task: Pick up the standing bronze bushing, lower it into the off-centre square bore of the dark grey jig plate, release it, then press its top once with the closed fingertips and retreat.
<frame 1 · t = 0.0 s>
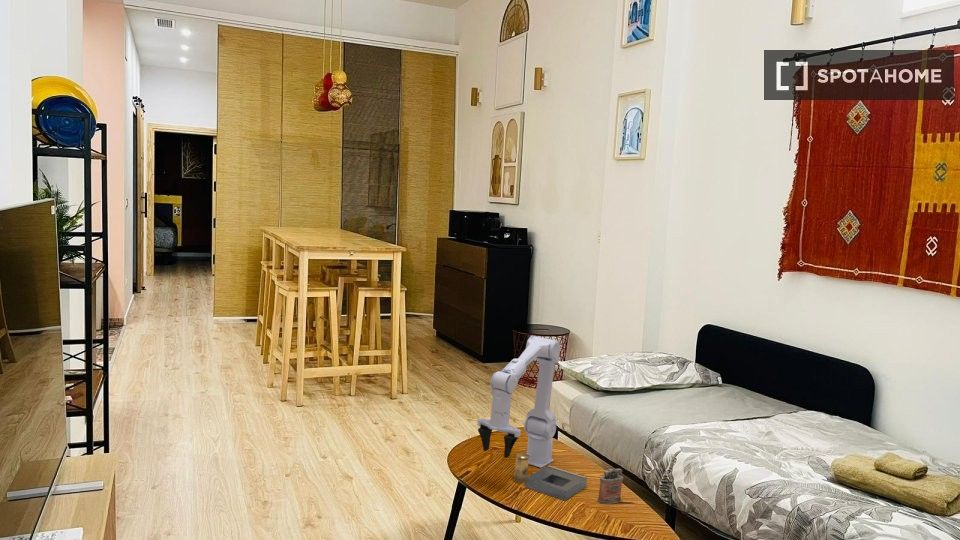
hand: (496, 453, 227), 10 cm above the table, fingers open, 7 cm apart
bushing: (520, 479, 234), on the table
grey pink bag: (608, 501, 224), on the table
jig: (555, 486, 231), on the table
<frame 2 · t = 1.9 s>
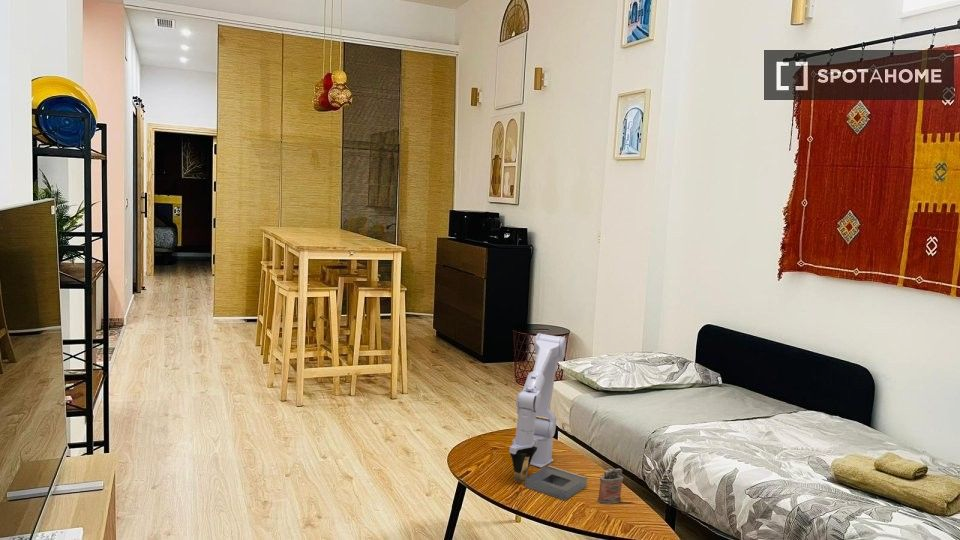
hand: (521, 470, 234), 3 cm above the table, fingers closed on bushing, 4 cm apart
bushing: (520, 479, 234), on the table, touching gripper
everything else where it was.
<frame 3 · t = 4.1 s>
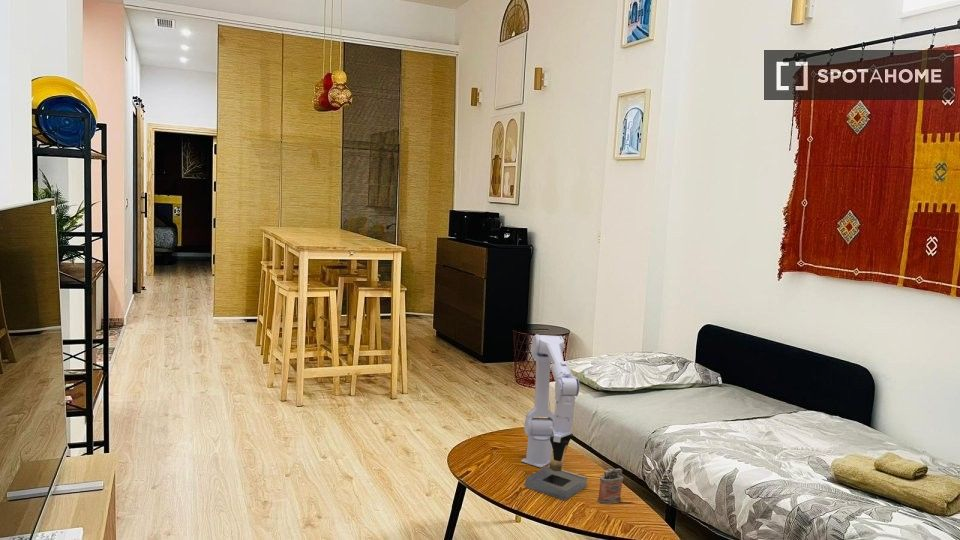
hand: (559, 458, 228), 10 cm above the table, fingers closed on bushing, 4 cm apart
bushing: (555, 468, 228), point 7 cm above the table, tilted 6°, touching gripper
everything else where it was.
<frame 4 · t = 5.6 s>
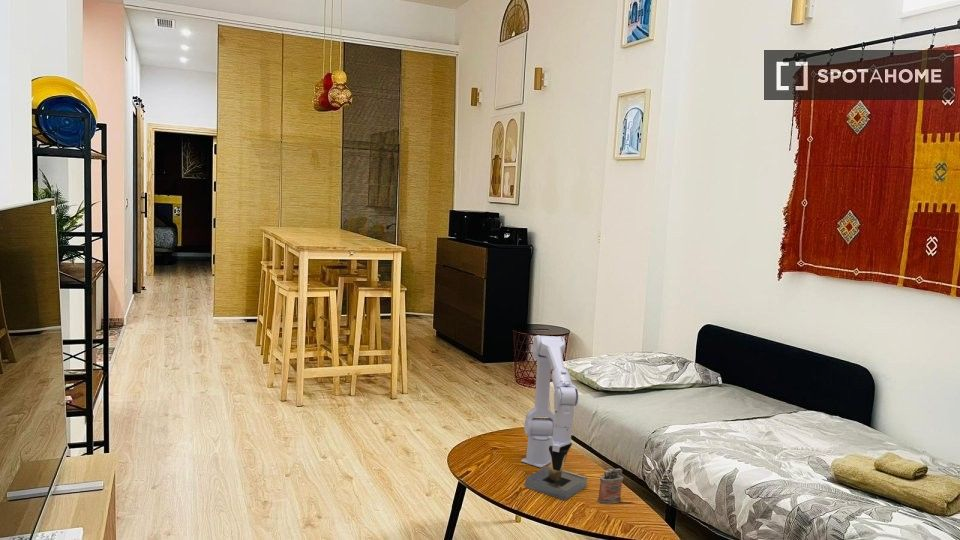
hand: (558, 467, 228), 7 cm above the table, fingers closed on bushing, 4 cm apart
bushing: (554, 477, 228), point 4 cm above the table, tilted 5°, touching gripper
everything else where it was.
when the fingers open (4 cm above the table, at t = 6.8 s): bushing stays where it is, resting in jig.
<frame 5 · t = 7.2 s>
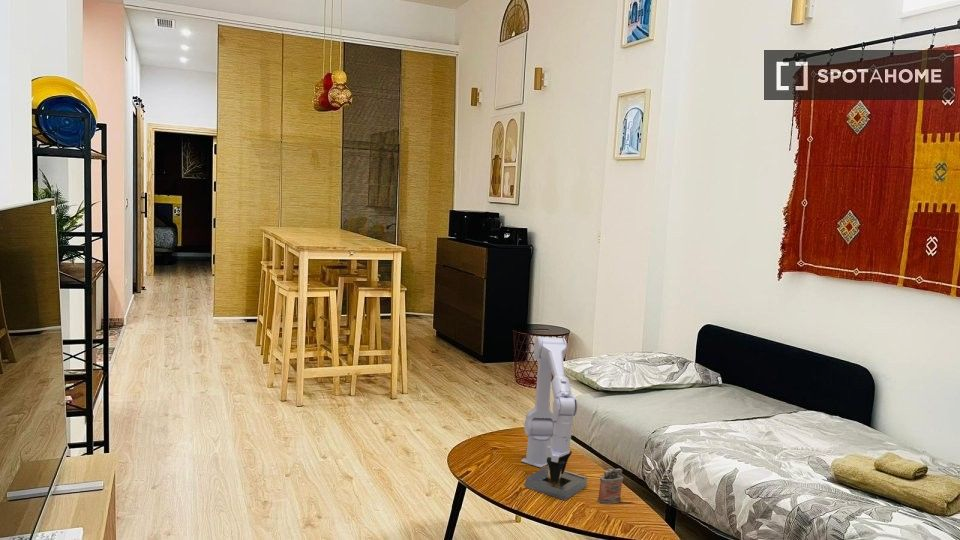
hand: (557, 477, 228), 4 cm above the table, fingers open, 7 cm apart
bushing: (552, 489, 229), resting in jig
everything else where it was.
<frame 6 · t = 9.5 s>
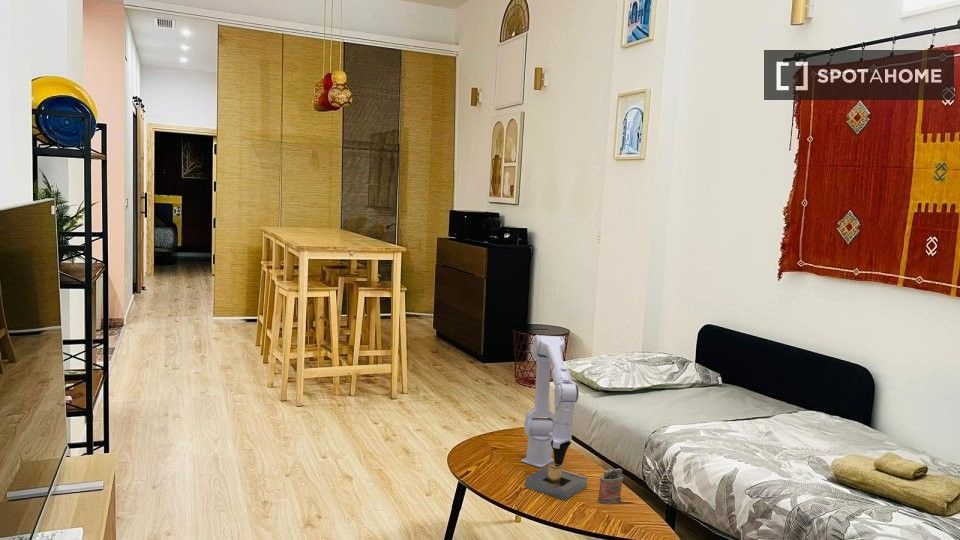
hand: (558, 463, 228), 8 cm above the table, fingers closed
nothing on the table moved.
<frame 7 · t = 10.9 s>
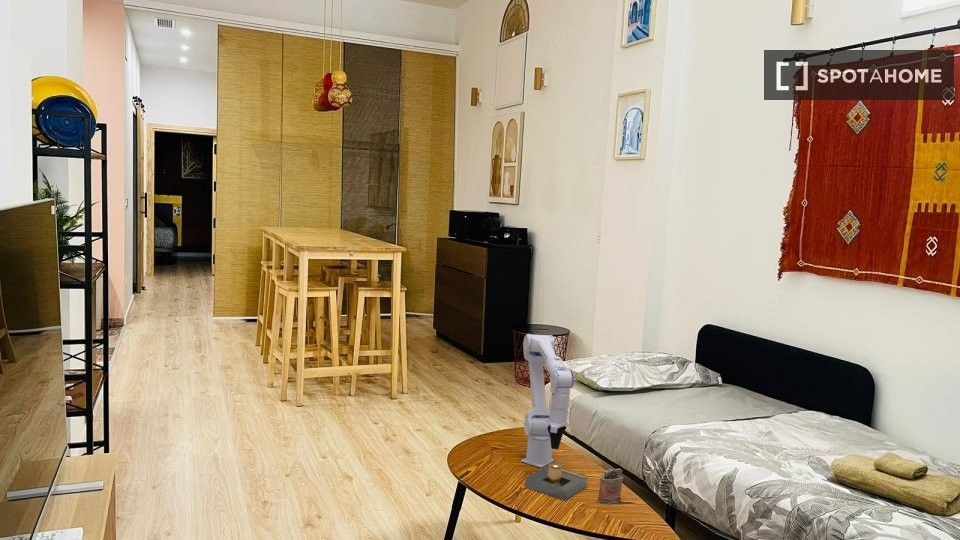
hand: (554, 448, 235), 10 cm above the table, fingers closed
nothing on the table moved.
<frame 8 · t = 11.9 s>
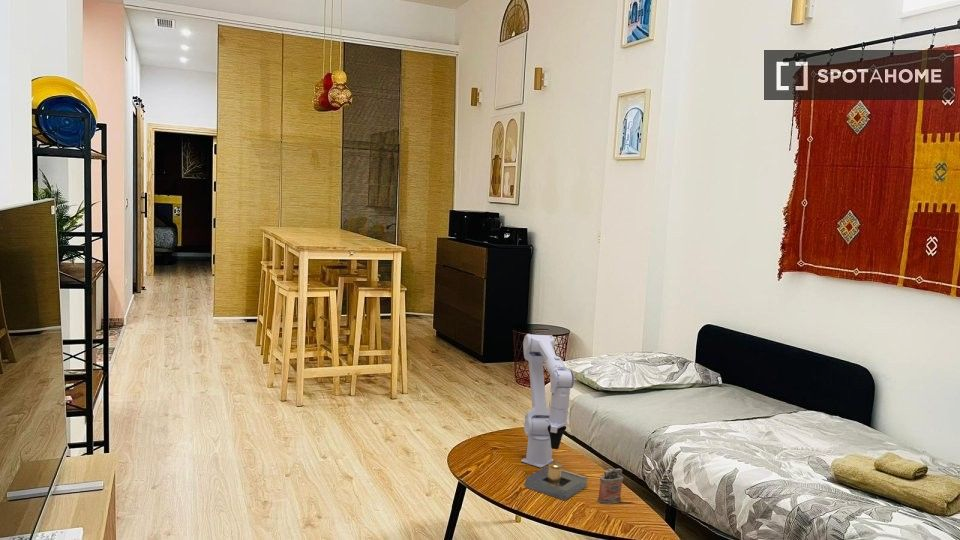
hand: (554, 448, 235), 10 cm above the table, fingers closed
nothing on the table moved.
at the end: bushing 0.9 cm from the target spot on the jig, point 0.0 cm above the jig's base; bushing tilted 0°; the gripper is holding nothing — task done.
